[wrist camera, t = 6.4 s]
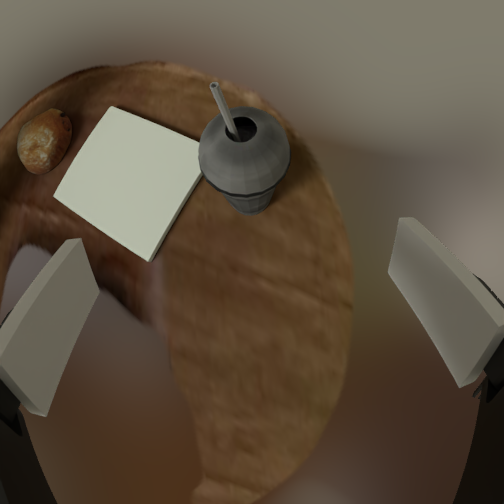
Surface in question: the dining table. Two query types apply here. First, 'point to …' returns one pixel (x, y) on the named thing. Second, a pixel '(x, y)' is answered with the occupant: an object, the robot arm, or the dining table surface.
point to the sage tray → (131, 180)
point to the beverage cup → (243, 155)
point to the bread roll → (44, 141)
